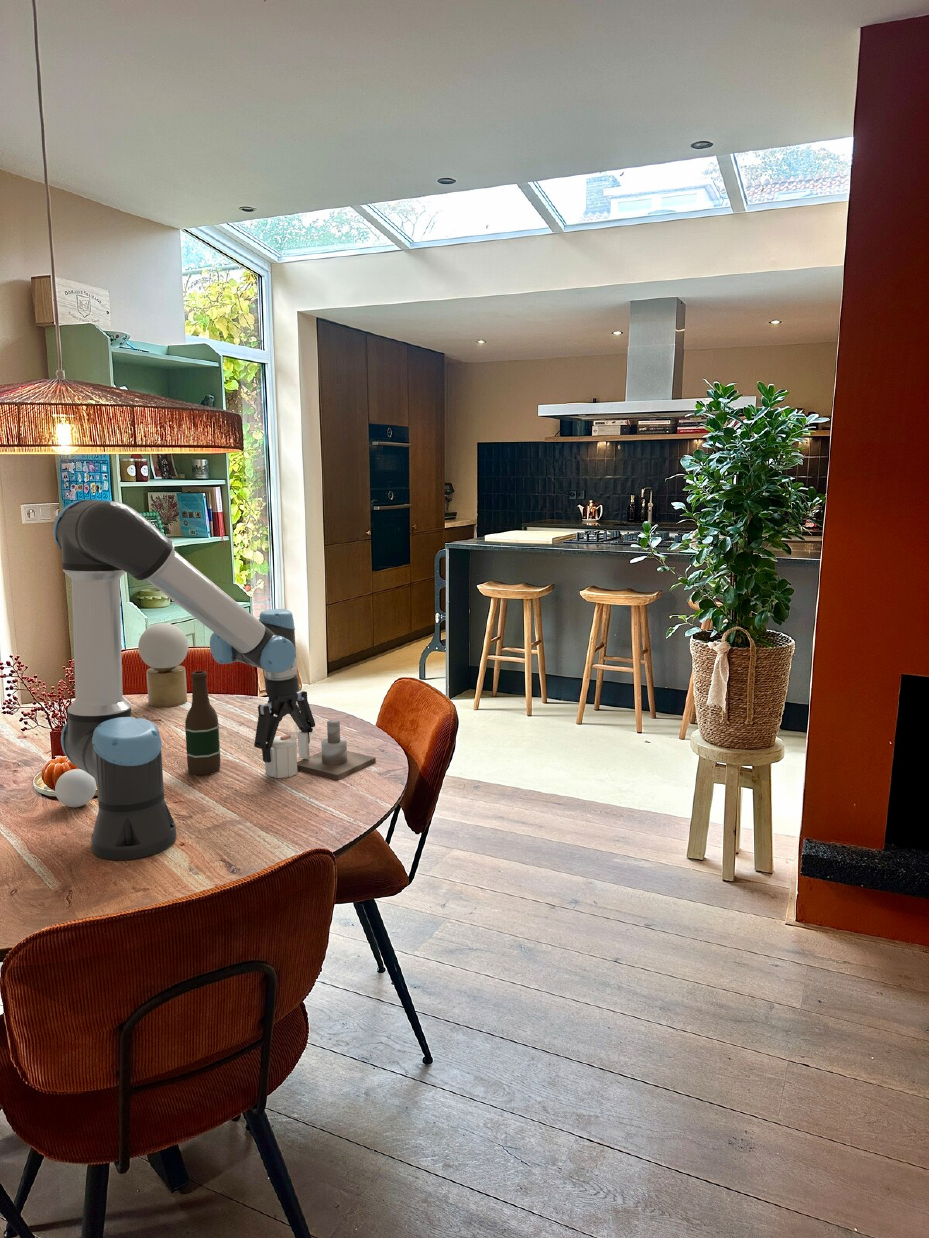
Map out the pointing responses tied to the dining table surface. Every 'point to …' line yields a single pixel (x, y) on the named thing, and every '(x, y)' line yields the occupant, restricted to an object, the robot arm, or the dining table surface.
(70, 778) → the ball
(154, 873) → the dining table surface
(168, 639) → the lamp
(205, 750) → the beer bottle
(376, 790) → the dining table surface
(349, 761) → the post block
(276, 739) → the canister
